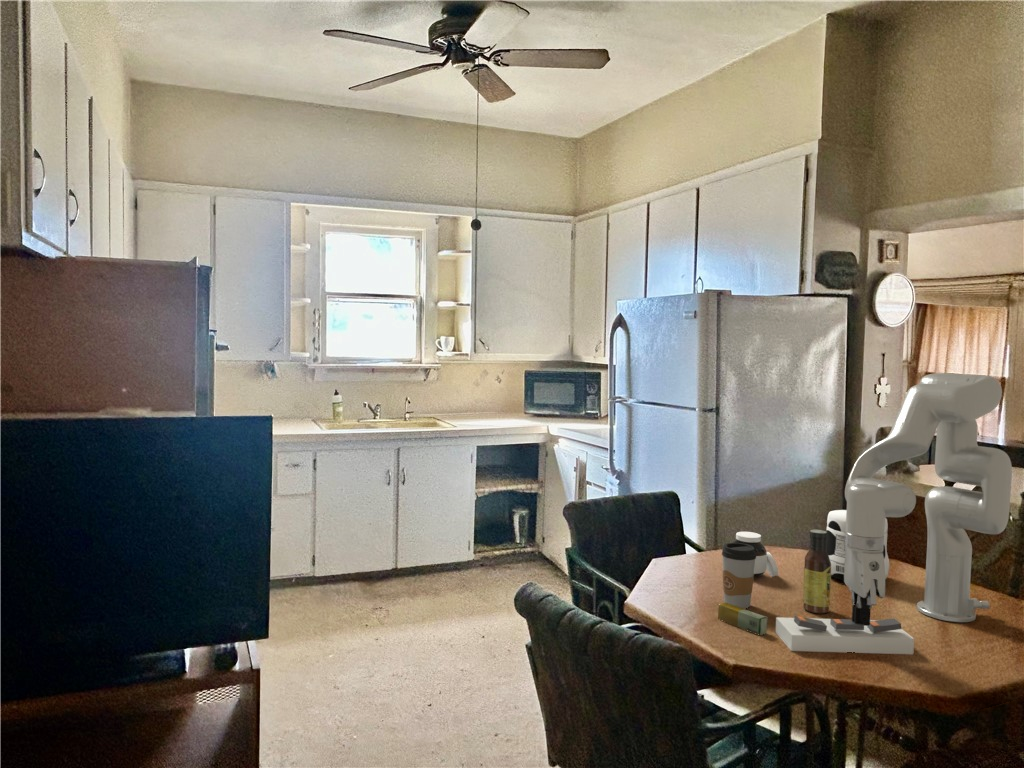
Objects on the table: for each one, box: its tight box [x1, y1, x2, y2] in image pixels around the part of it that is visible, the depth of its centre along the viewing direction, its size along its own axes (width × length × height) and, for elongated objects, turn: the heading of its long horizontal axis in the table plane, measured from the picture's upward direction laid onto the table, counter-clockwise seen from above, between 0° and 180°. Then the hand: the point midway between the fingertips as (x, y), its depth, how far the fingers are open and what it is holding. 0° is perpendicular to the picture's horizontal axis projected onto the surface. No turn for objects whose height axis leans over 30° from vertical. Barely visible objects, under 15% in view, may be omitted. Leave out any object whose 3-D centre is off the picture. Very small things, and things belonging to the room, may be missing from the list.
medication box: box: [717, 602, 768, 636], centre depth 170 cm, size 12×3×4 cm, turn 37°
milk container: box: [826, 509, 890, 582], centre depth 206 cm, size 17×17×18 cm
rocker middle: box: [829, 618, 864, 630], centre depth 158 cm, size 6×3×1 cm, turn 89°
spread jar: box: [732, 531, 779, 579], centre depth 207 cm, size 12×11×12 cm
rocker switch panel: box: [775, 617, 915, 655], centre depth 161 cm, size 26×10×4 cm, turn 89°
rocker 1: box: [793, 615, 827, 631], centre depth 159 cm, size 6×3×1 cm, turn 89°
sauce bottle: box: [802, 529, 832, 614], centre depth 180 cm, size 7×6×20 cm
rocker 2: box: [867, 617, 903, 633], centre depth 158 cm, size 6×3×1 cm, turn 88°
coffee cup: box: [721, 542, 756, 610], centre depth 183 cm, size 8×8×15 cm
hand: (860, 623), depth 158 cm, fingers closed
